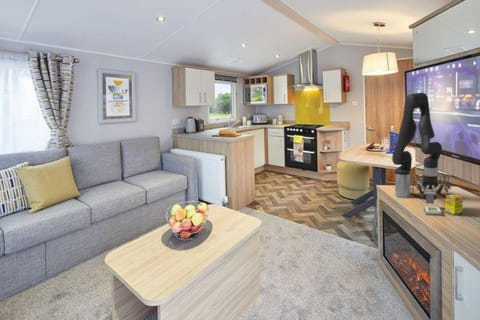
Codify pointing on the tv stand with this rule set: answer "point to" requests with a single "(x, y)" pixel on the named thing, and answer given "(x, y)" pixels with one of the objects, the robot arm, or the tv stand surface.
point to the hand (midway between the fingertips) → (429, 199)
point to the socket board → (433, 211)
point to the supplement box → (454, 204)
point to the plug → (429, 196)
